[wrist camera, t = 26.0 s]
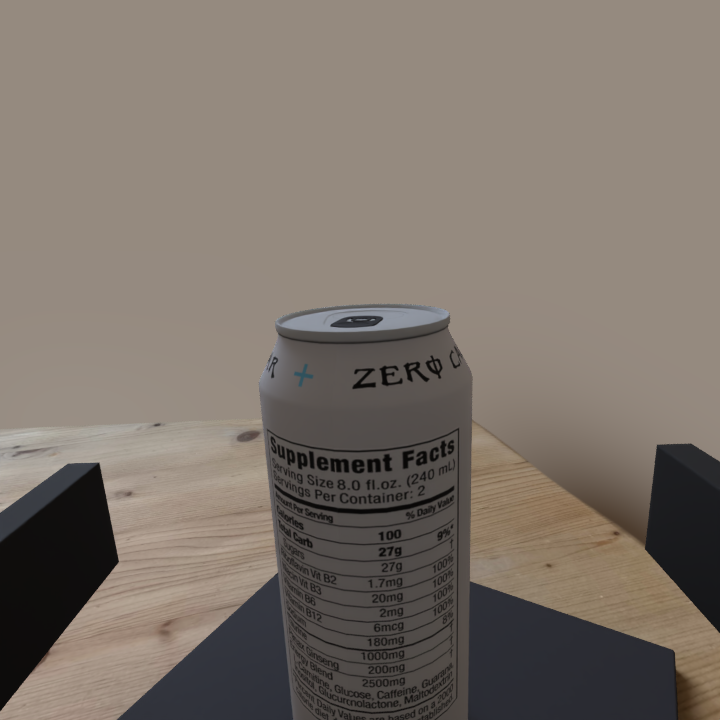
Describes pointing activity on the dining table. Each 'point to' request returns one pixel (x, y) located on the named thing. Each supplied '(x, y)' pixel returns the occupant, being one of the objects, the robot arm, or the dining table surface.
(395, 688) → the energy drink can
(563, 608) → the dining table surface
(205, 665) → the rubber mat
